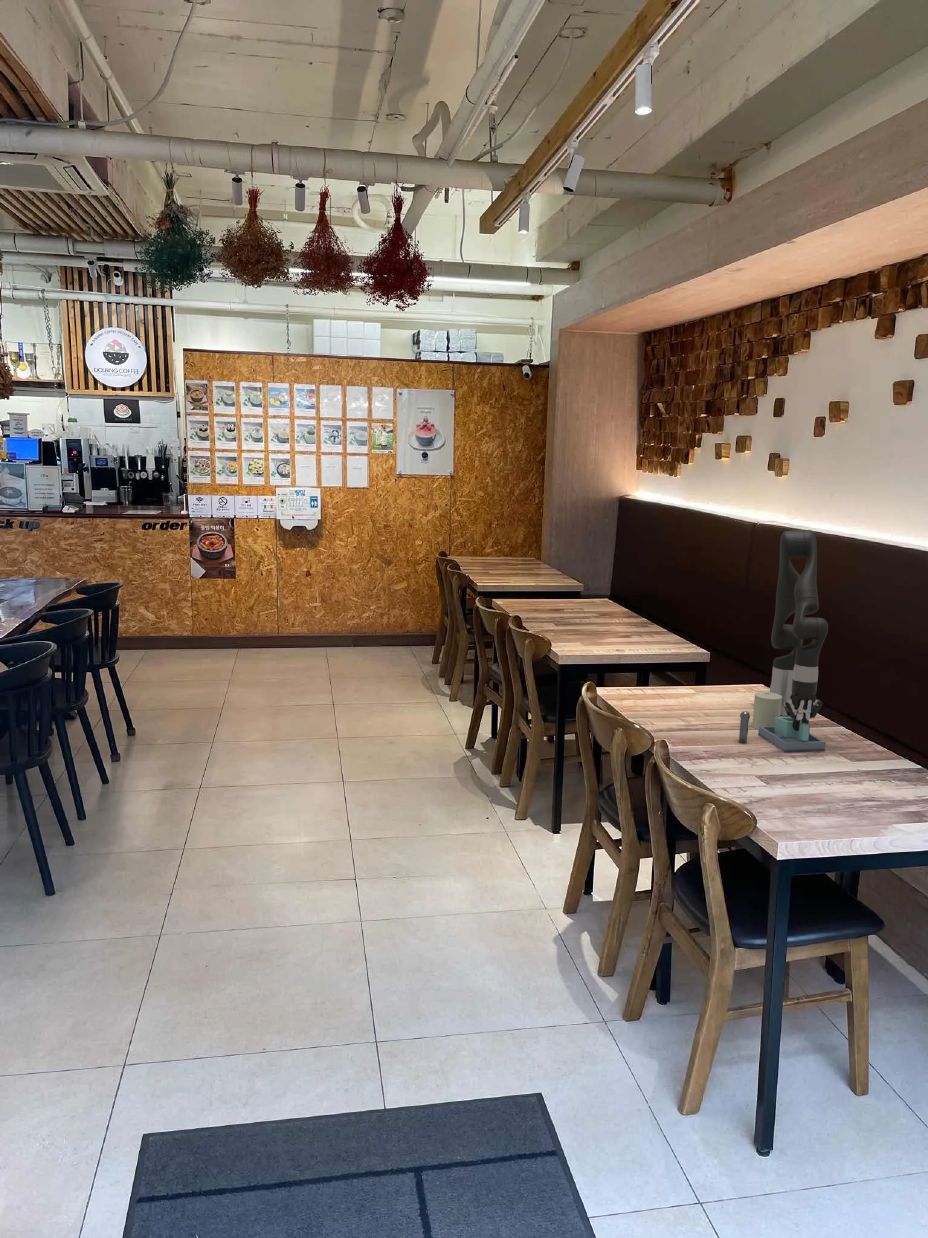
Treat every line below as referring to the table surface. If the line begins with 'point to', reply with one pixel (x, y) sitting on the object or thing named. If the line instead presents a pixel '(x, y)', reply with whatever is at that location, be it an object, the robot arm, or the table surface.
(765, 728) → the tray
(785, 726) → the teal block with hole
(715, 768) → the table surface
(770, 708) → the can
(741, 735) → the dark grey peg
